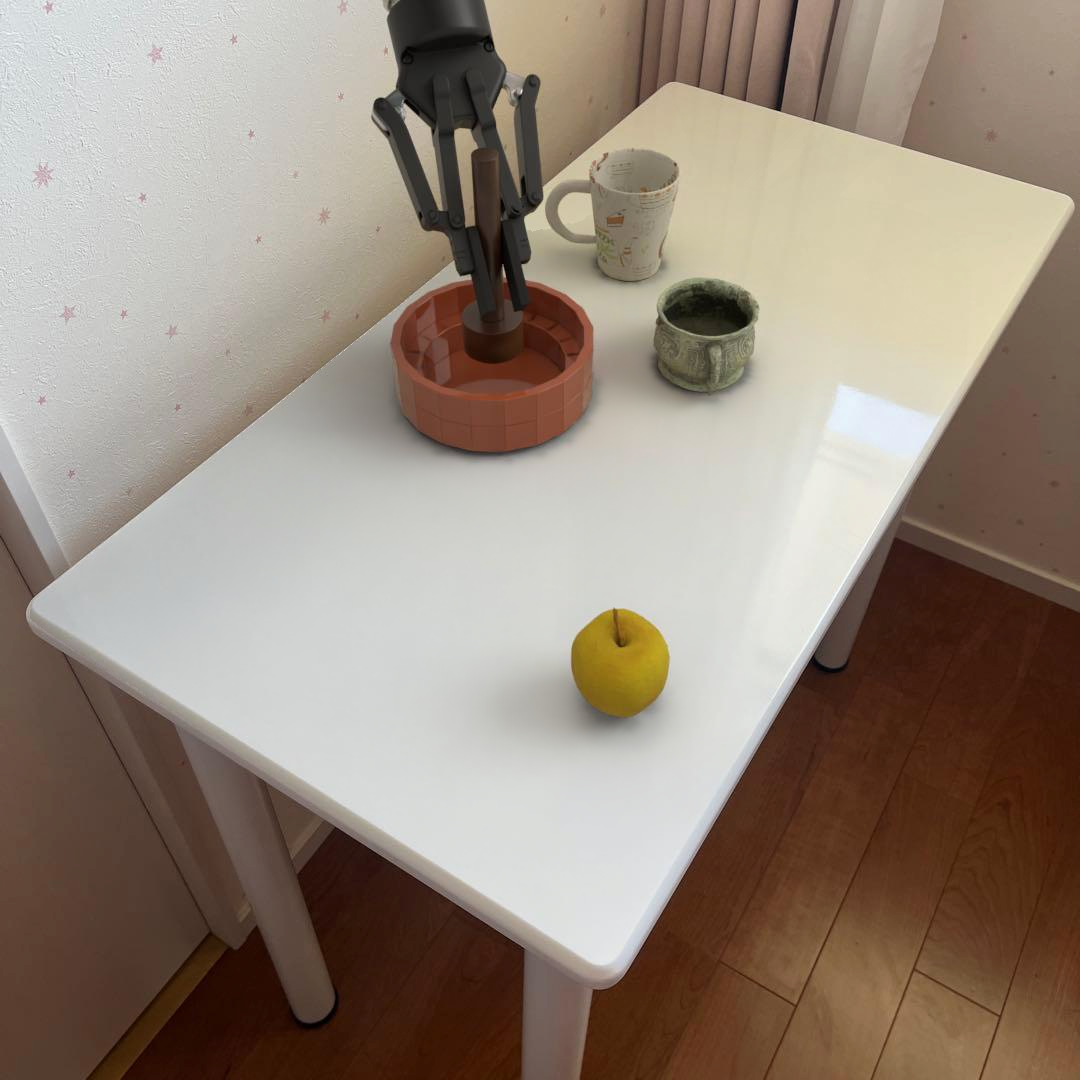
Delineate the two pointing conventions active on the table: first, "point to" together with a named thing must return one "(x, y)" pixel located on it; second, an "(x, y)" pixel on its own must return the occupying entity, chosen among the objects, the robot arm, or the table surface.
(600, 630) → the apple
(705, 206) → the table surface
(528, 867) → the table surface
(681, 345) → the vessel
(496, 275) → the brown joystick
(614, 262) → the mug
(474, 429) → the bowl
